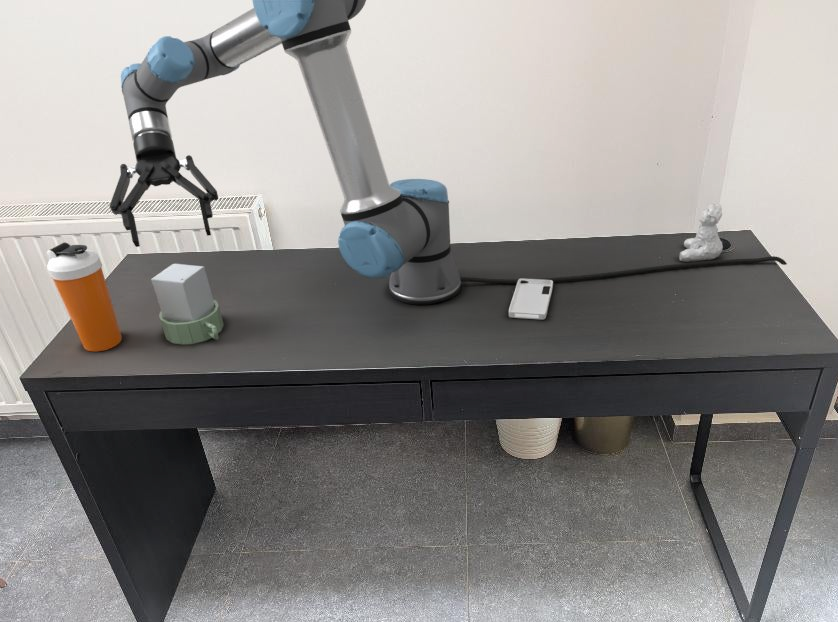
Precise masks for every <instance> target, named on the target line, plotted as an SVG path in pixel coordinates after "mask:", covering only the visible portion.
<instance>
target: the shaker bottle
mask: <svg viewBox="0 0 838 622" xmlns="http://www.w3.org/2000/svg"><path fill="white" fill-rule="evenodd" d="M46 255H47V259H48V262H47V265H46V269H47V271H48V274H49V276H50V278H51V279H52V280H53V282H54V285H55V287H56V289H57V291H58V293H59V296H60V298H61V300H62V302H63V305H64V307H65V309H66V311H67V313H68V315H69V317H70V320H71V322H72V324H73V327H74V328H75V331H76V333H77V336H78V337H79V340H80V342H81V344H82V347H83V348H84V350H86V351H87V352H92V353H93V352H95V353H97V352H103V351H107V350H109V349H112V348H115V347H116V346H117V345H119V344H120V343H121V341H122V339H123V337H122V332H121V330H120V326H119V323H118V319H117V316H116V312H115V310H114V306H113V302H112V299H111V295H110V292H109V288H108V285H107V282H106V278H105V275H104V271H103V268H102V267H103V263H102V261H101V257H100V255H99V254H98V253H97V252H95V251H93V250H92V249H89V248H88V246H87V245H86V244H70V243H69V242H67V241H63V242H62V243H60V244H58V245H56V246H54V247H52V248H50V249H48V250H47V251H46Z"/></svg>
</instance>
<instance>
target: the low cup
mask: <svg viewBox="0 0 838 622" xmlns="http://www.w3.org/2000/svg"><path fill="white" fill-rule="evenodd" d="M213 301H214V305H215V309H214V311H213V312H211V313H210V314H209V315H208V316H206V317H203V318H201V319H199V320H195V321H191V322H184V323H174V322H168V321H166V320H165V319H164V318H163V315H162V312H161V311H159V314H158V317H159V320H160V324H161V327H162V330H163V333H164V336H165V337H164V338H165V339H166V340H167V341H168V342H169V343H172V344H175V345H194V344H199V343H202V342H206V341H209V340H210V339H213V340H219V339H220V335H219V334H220V333H221V332H222V330H223V328H224V326H225V324H224V321H223V317H222V313H221V309H220V305H219V303H218V301H217V300H215V299H213Z"/></svg>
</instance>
